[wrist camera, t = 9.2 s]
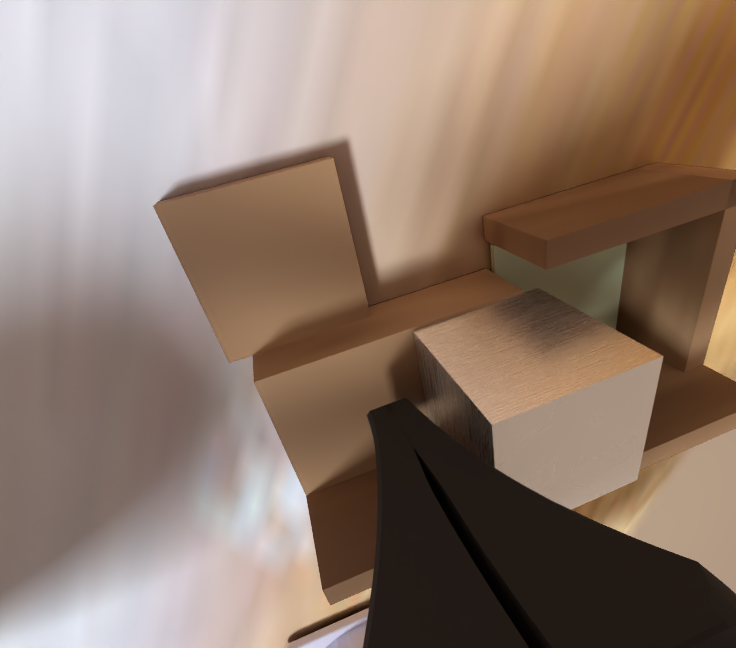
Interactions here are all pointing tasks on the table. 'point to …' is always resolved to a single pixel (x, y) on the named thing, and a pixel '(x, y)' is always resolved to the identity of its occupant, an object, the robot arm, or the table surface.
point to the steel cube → (542, 394)
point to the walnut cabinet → (446, 313)
